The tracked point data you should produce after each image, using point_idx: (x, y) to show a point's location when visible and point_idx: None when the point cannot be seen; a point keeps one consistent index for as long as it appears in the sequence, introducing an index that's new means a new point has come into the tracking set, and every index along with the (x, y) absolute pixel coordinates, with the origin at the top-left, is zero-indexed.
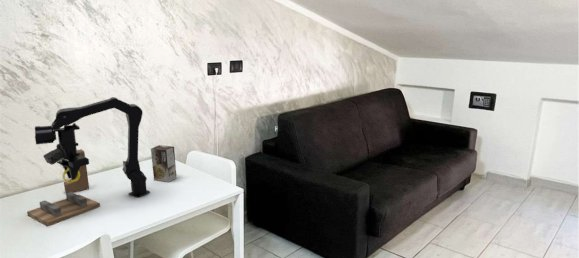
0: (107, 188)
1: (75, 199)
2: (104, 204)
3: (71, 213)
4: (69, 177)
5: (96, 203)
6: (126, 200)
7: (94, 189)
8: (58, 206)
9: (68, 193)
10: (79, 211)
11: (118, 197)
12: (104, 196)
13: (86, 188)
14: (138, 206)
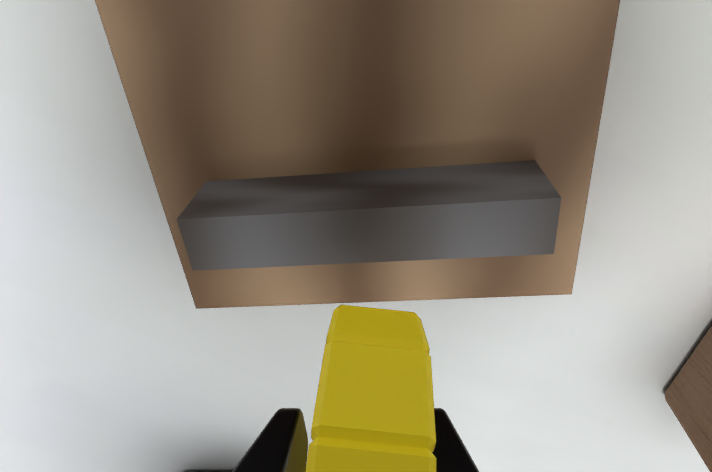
0: (522, 454)
1: (321, 199)
2: (226, 321)
3: (107, 35)
4: None
5: (208, 290)
6: (187, 423)
7: (604, 406)
8: (438, 17)
9: (529, 218)
10: (140, 122)
11: None
12: None
13: (675, 385)
14: (30, 416)
